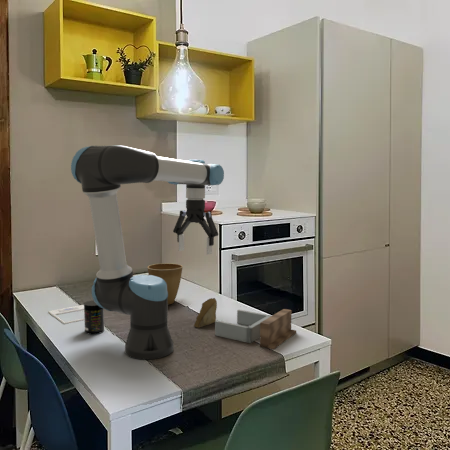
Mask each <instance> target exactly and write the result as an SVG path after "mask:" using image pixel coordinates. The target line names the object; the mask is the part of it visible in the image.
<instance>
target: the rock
mask: <svg viewBox="0 0 450 450" xmlns="http://www.w3.org/2000/svg"><path fill="white" fill-rule="evenodd" d="M217 303H218V302H217V299H216V298H215V297H211V298H209V299H207V300H205V301H204V302H202V304H201V308H200V311H199V313H198V314H197V316H196V319H195V322H194V325H193V327H195V328H196V329H197V328H198V329H199V328H202V327H206V326H208V325H211V324H215V321H217V309H218V304H217Z"/></svg>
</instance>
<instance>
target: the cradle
mask: <svg viewBox="0 0 450 450" xmlns="http://www.w3.org/2000/svg"><path fill="white" fill-rule="evenodd" d="M236 312H237V313H236V316H237V317H236V323H237V324H236V323H231V322H227V321H222V320H217V319H216V321H215V322H214V336H217V337H221V338H225V339H229V340H235V341H239V342H242V343H243V342H244V343H249V344H252V343H253V342H255V341H256V340H258V339H260V323H261V322H262V321H264V320H266V319H267V318H269V317H271V316H272V315H270V314H266V313H260V312H254V311H249V310H243V309H237V311H236Z"/></svg>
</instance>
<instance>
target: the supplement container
mask: <svg viewBox="0 0 450 450" xmlns="http://www.w3.org/2000/svg"><path fill="white" fill-rule="evenodd" d="M83 305H84V310H83V312H84V315H83V316H84V317H83V319H84V320H83V321H84V332H85V333H86V334H87V335H99V334H101V333H103V332H104V331H105V316H104V315H105V311H104V310H105V309H104V308H101V307H99V306H98V305H97V304H96V303H95V302H94V300H93V299H92V300H88V301H85V302H84V303H83Z"/></svg>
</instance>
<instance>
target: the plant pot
mask: <svg viewBox="0 0 450 450" xmlns="http://www.w3.org/2000/svg"><path fill="white" fill-rule="evenodd" d="M147 273H148V275H153V276H157V277H160V278H162V279H163V280H164V281H165V282H166V284H167V291H168V305H172V304H174V303H175V300H176V298H177V295H178V291H179V289H180V286H181V280H182V274H183V265H182V264H179V263H170V262H169V263H167V262H166V263H165V262H164V263H163V262H162V263H154V264H150V265H148V266H147Z"/></svg>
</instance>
